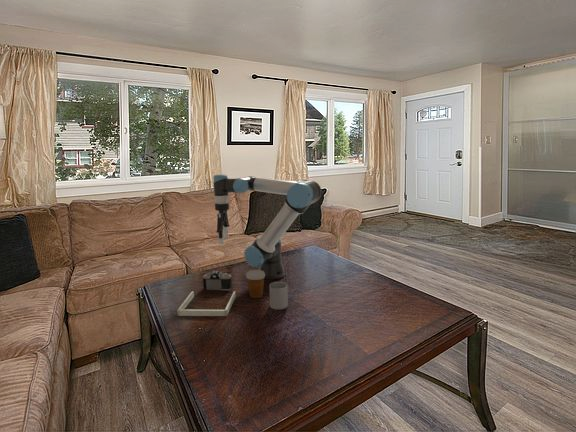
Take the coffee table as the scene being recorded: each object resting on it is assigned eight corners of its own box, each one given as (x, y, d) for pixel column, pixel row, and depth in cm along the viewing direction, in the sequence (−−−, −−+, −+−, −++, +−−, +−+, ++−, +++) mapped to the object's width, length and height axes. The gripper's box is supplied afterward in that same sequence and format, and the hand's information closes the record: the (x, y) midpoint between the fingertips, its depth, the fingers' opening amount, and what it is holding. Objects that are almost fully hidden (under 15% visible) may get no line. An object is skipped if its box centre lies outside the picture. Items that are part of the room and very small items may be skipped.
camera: (235, 284, 189) (234, 267, 187) (230, 291, 180) (230, 273, 178) (207, 284, 190) (206, 266, 188) (201, 290, 181) (200, 272, 180)
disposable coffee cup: (250, 301, 168) (250, 277, 166) (243, 294, 176) (242, 271, 174) (268, 297, 172) (268, 273, 170) (261, 290, 180) (260, 268, 178)
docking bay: (235, 296, 174) (235, 291, 173) (226, 316, 153) (226, 310, 153) (192, 296, 175) (191, 291, 174) (177, 315, 154) (176, 310, 154)
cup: (269, 302, 167) (269, 282, 165) (286, 301, 167) (286, 281, 165) (270, 310, 158) (269, 289, 156) (288, 309, 159) (288, 288, 157)
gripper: (219, 199, 204) (222, 235, 208) (209, 206, 181) (211, 246, 185) (232, 199, 204) (234, 235, 208) (223, 206, 180) (226, 246, 184)
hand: (223, 240), depth 196 cm, fingers open, 12 cm apart
